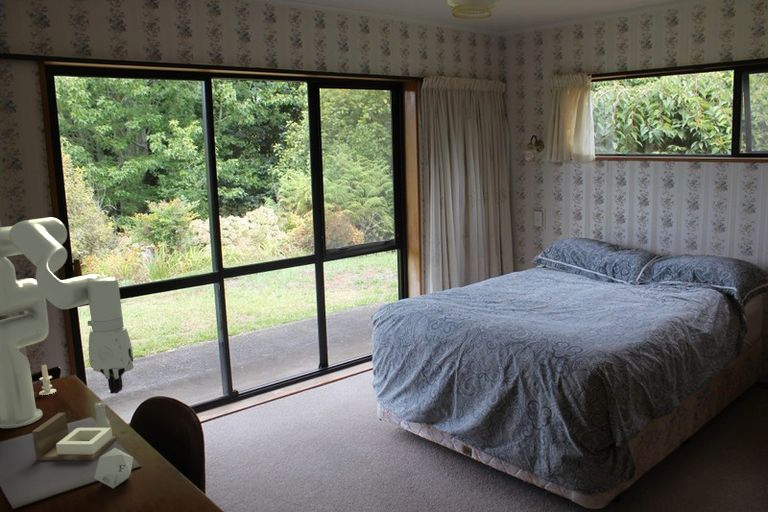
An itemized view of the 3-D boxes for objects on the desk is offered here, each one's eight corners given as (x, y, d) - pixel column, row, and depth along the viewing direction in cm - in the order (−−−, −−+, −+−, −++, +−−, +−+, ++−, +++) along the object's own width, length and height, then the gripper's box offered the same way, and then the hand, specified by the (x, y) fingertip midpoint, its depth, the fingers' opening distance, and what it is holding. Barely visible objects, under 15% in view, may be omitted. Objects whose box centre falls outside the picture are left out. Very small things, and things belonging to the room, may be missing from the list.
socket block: (57, 454, 173) (56, 444, 173) (78, 437, 183) (77, 427, 183) (93, 454, 172) (91, 444, 172) (112, 437, 182) (111, 427, 182)
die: (91, 496, 155) (107, 469, 152) (87, 466, 161) (102, 439, 157) (125, 495, 160) (141, 469, 157) (120, 466, 166) (135, 440, 163)
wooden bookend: (36, 459, 173) (32, 431, 172) (62, 439, 185) (58, 412, 184) (93, 460, 172) (89, 431, 170) (116, 439, 183) (113, 412, 182)
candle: (35, 395, 220) (31, 366, 218) (46, 390, 225) (41, 361, 223) (49, 396, 219) (45, 366, 218) (59, 390, 224) (55, 361, 223)
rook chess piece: (104, 432, 188) (101, 406, 187) (90, 431, 189) (87, 405, 188) (114, 425, 193) (110, 400, 191) (100, 425, 194) (97, 399, 192)
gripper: (72, 329, 168) (82, 397, 171) (128, 328, 166) (136, 396, 169) (88, 321, 175) (97, 386, 178) (141, 320, 174) (149, 386, 177)
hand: (116, 391), depth 174 cm, fingers closed
